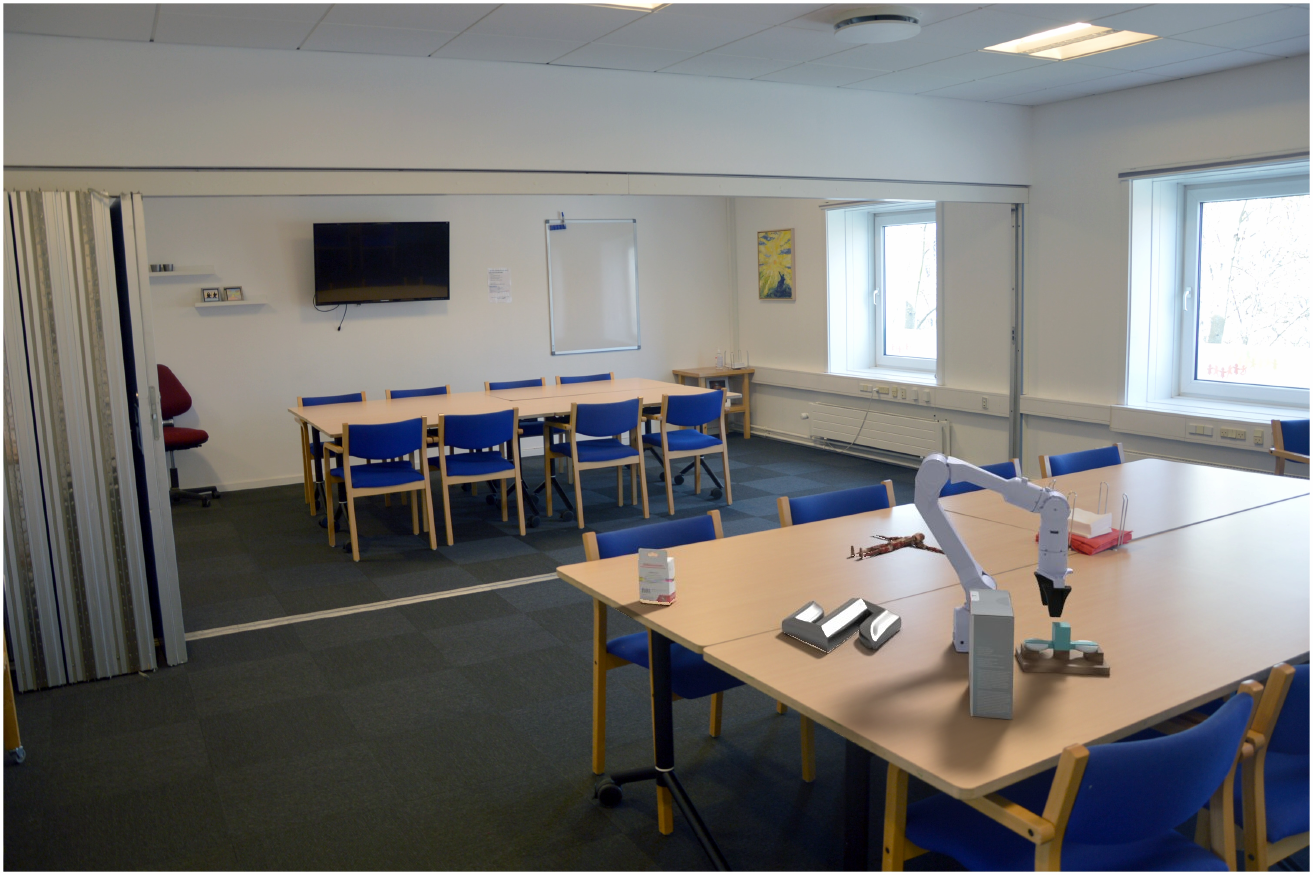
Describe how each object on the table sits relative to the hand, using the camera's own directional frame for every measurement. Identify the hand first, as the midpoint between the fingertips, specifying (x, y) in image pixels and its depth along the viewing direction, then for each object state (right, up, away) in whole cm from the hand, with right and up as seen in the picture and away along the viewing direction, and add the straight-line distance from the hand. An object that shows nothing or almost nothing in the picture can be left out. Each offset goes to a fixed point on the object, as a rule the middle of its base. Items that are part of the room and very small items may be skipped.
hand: (1051, 610), depth 204 cm
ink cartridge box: (-84, -6, +45) cm, 95 cm away
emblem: (-41, -9, +19) cm, 46 cm away
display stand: (0, -10, -5) cm, 11 cm away
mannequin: (-13, +2, +89) cm, 90 cm away
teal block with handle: (0, -7, -5) cm, 8 cm away
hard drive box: (-21, -14, -22) cm, 33 cm away
